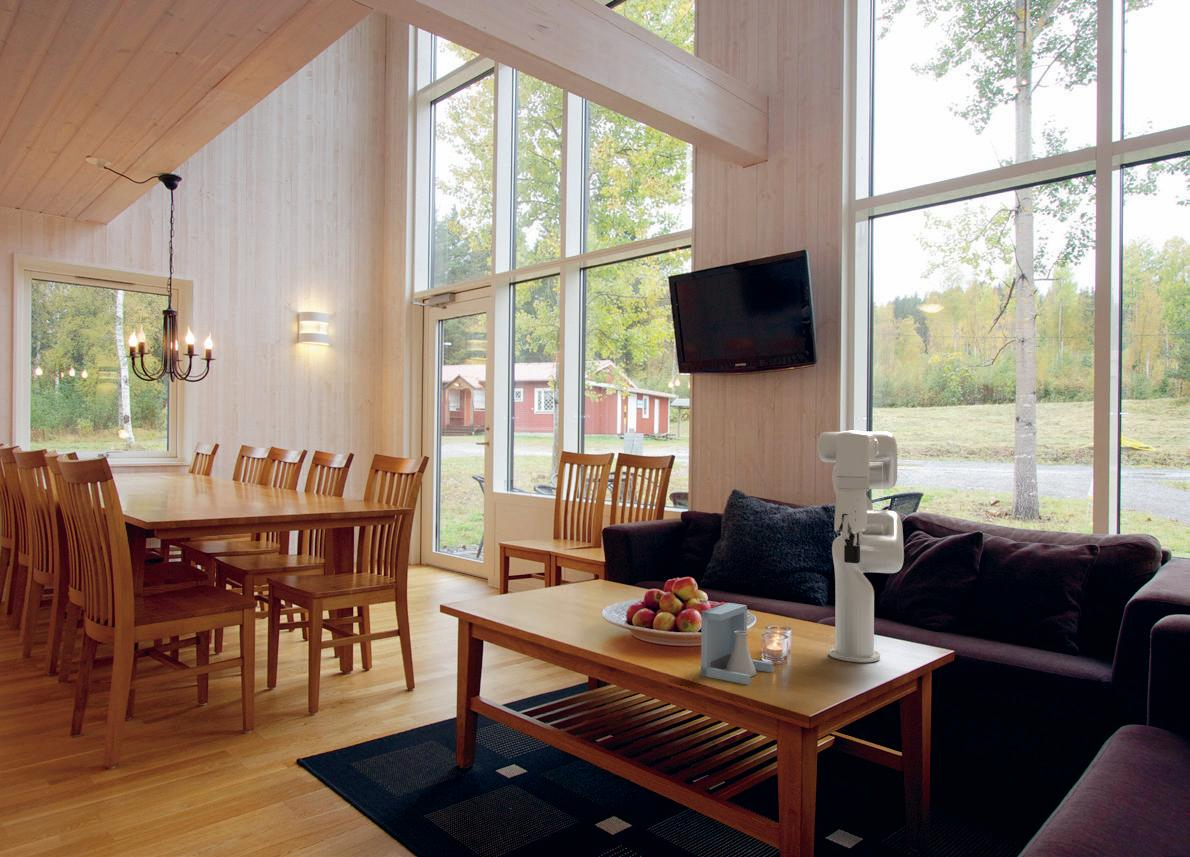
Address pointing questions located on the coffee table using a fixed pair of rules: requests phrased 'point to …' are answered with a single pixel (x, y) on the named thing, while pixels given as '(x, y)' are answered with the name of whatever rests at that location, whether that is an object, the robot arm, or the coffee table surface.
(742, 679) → the blue frame
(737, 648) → the flask
